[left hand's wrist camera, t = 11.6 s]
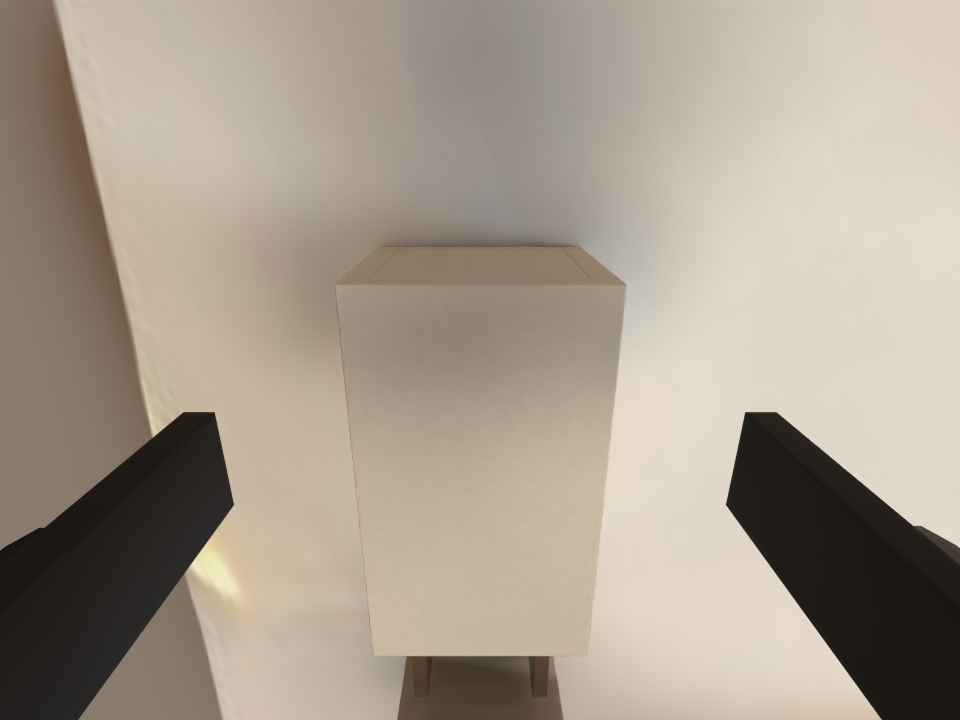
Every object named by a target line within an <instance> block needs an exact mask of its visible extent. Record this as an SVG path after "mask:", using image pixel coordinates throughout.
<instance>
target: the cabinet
mask: <svg viewBox="0 0 960 720" xmlns="http://www.w3.org/2000/svg"><path fill="white" fill-rule="evenodd" d="M626 291H627V284H625V283H624V282H623V281H622V280H621V279H619V278H618V277H617V276H615V275H614V274H613V273H612V272H610V271H609V270H608V269H607V268H606V267H604V266H603V265H602V264H601V263H599V262H598V261H597V260H596V259H595V258H593V257H592V256H591V255H590V254H588V253H587V252H586V251H585V250H583V249H582V248H581V247H395V246H382V247H380V248H379V249H378V250H376V251H375V252H374V253H372V254H371V255H370V256H369V257H368V258H366V259H365V260H364V261H363V262H361V263H360V264H359V265H358V266H357V267H355V268H354V269H353V270H352V271H351V272H349V273H348V274H347V275H346V276H344V277H343V278H342V279H341V280H340V281H338V282H337V283H336V284H335V294H336V304H337V313H338V323H339V332H340V342H341V352H342V361H343V371H344V380H345V390H346V400H347V409H348V419H349V428H350V438H351V447H352V457H353V467H354V476H355V486H356V495H357V505H358V514H359V524H360V534H361V543H362V553H363V562H364V572H365V582H366V591H367V601H368V610H369V620H370V629H371V639H372V649H373V656H588V649H589V639H590V630H591V620H592V611H593V602H594V592H595V583H596V573H597V564H598V554H599V545H600V536H601V526H602V517H603V507H604V498H605V489H606V479H607V470H608V460H609V451H610V441H611V432H612V423H613V413H614V404H615V394H616V385H617V376H618V366H619V357H620V347H621V338H622V329H623V319H624V310H625V300H626Z"/></svg>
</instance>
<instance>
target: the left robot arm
mask: <svg viewBox="0 0 960 720" xmlns="http://www.w3.org/2000/svg"><path fill="white" fill-rule="evenodd" d="M233 506H234V503H233V498H232V493H231V488H230V483H229V479H228V474H227V469H226V464H225V460H224V455H223V450H222V445H221V440H220V436H219V431H218V426H217V421H216V417H215V412H183V413H182V414H181V415H180V416H179V417H177V418H176V419H175V420H174V421H173V422H171V423H170V424H169V425H168V426H167V427H165V428H164V429H163V430H162V431H160V432H159V433H158V434H157V435H156V436H154V437H153V438H152V439H151V440H150V441H148V442H147V443H146V444H145V445H144V446H143V447H141V448H140V449H139V450H138V451H136V452H135V453H134V454H133V455H132V456H130V457H129V458H128V459H127V460H126V461H124V462H123V463H122V464H121V465H120V466H118V467H117V468H116V469H115V470H114V471H112V472H111V473H110V474H109V475H108V476H106V477H105V478H104V479H103V480H102V481H100V482H99V483H98V484H97V485H96V486H94V487H93V488H92V489H91V490H90V491H88V492H87V493H86V494H85V495H84V496H82V497H81V498H80V499H79V500H78V501H76V502H75V503H74V504H73V505H71V506H70V507H69V508H68V509H67V510H65V511H64V512H63V513H62V514H61V515H59V516H58V517H57V518H56V519H55V520H53V521H52V522H51V523H50V524H49V525H47V526H46V527H45V528H38V529H37V530H35V531H33V532H31V533H29V534H27V535H26V536H24V537H22V538H20V539H18V540H17V541H15V542H13V543H11V544H9V545H8V546H6V547H4V548H3V549H2V550H0V720H78V719H79V718H80V716H81V715H82V714H83V712H84V711H85V710H86V708H87V707H88V705H89V704H90V703H91V701H92V700H93V699H94V697H95V696H96V694H97V693H98V692H99V690H100V689H101V687H102V686H103V685H104V683H105V682H106V681H107V679H108V678H109V677H110V675H111V674H112V672H113V671H114V670H115V668H116V667H117V666H118V664H119V663H120V661H121V660H122V659H123V657H124V656H125V654H126V653H127V652H128V650H129V649H130V648H131V646H132V645H133V643H134V642H135V641H136V639H137V638H138V637H139V635H140V634H141V632H142V631H143V630H144V628H145V627H146V625H147V624H148V623H149V621H150V620H151V619H152V617H153V616H154V615H155V613H156V612H157V610H158V609H159V608H160V606H161V605H162V603H163V602H164V601H165V599H166V598H167V597H168V595H169V594H170V592H171V591H172V590H173V588H174V587H175V586H176V584H177V583H178V581H179V580H180V579H181V577H182V576H183V575H184V573H185V572H186V570H187V569H188V568H189V566H190V565H191V564H192V562H193V561H194V559H195V558H196V557H197V555H198V554H199V553H200V551H201V550H202V548H203V547H204V546H205V544H206V543H207V541H208V540H209V539H210V537H211V536H212V535H213V533H214V532H215V530H216V529H217V528H218V526H219V525H220V524H221V522H222V521H223V519H224V518H225V517H226V515H227V514H228V513H229V511H230V510H231V508H232V507H233ZM726 506H727V507H728V508H729V510H730V511H731V513H732V514H733V515H734V517H735V518H736V519H737V521H738V522H739V524H740V525H741V526H742V528H743V529H744V530H745V532H746V533H747V535H748V536H749V537H750V539H751V540H752V541H753V543H754V544H755V546H756V547H757V548H758V550H759V551H760V553H761V554H762V555H763V557H764V558H765V559H766V561H767V562H768V564H769V565H770V566H771V568H772V569H773V570H774V572H775V573H776V575H777V576H778V577H779V579H780V580H781V581H782V583H783V584H784V586H785V587H786V588H787V590H788V591H789V592H790V594H791V595H792V597H793V598H794V599H795V601H796V602H797V603H798V605H799V606H800V608H801V609H802V610H803V612H804V613H805V615H806V616H807V617H808V619H809V620H810V621H811V623H812V624H813V626H814V627H815V628H816V630H817V631H818V632H819V634H820V635H821V637H822V638H823V639H824V641H825V642H826V643H827V645H828V646H829V648H830V649H831V650H832V652H833V653H834V654H835V656H836V657H837V659H838V660H839V661H840V663H841V664H842V666H843V667H844V668H845V670H846V671H847V672H848V674H849V675H850V677H851V678H852V679H853V681H854V682H855V683H856V685H857V686H858V688H859V689H860V690H861V692H862V693H863V694H864V696H865V697H866V699H867V700H868V701H869V703H870V704H871V705H872V707H873V708H874V710H875V711H876V712H877V714H878V715H879V717H880V718H881V719H882V720H960V548H959V547H958V546H956V545H955V544H953V543H951V542H949V541H947V540H946V539H944V538H942V537H940V536H938V535H937V534H935V533H933V532H931V531H929V530H927V529H926V528H924V527H922V526H913V525H911V524H910V523H909V522H908V521H907V520H905V519H904V518H903V517H902V516H901V515H899V514H898V513H897V512H896V511H895V510H893V509H892V508H891V507H890V506H889V505H887V504H886V503H885V502H884V501H883V500H881V499H880V498H879V497H878V496H876V495H875V494H874V493H873V492H872V491H870V490H869V489H868V488H867V487H866V486H864V485H863V484H862V483H861V482H860V481H858V480H857V479H856V478H855V477H854V476H852V475H851V474H850V473H849V472H848V471H846V470H845V469H844V468H843V467H842V466H840V465H839V464H838V463H837V462H836V461H834V460H833V459H832V458H831V457H830V456H828V455H827V454H826V453H825V452H824V451H822V450H821V449H820V448H819V447H818V446H816V445H815V444H814V443H813V442H812V441H810V440H809V439H808V438H807V437H806V436H804V435H803V434H802V433H801V432H800V431H798V430H797V429H796V428H795V427H793V426H792V425H791V424H790V423H789V422H787V421H786V420H785V419H784V418H783V417H781V416H780V415H779V414H778V413H777V412H745V417H744V421H743V426H742V431H741V436H740V440H739V445H738V450H737V455H736V460H735V464H734V469H733V474H732V479H731V483H730V488H729V493H728V498H727V503H726Z"/></svg>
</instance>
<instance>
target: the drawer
mask: <svg viewBox="0 0 960 720" xmlns="http://www.w3.org/2000/svg"><path fill="white" fill-rule="evenodd" d="M397 720H563V714H562V707H561V701H560V694H559V687H558V681H557V674H556V667H555V661H554V656H407V659H406V665H405V672H404V679H403V686H402V692H401V699H400V706H399V712H398V719H397Z"/></svg>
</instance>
